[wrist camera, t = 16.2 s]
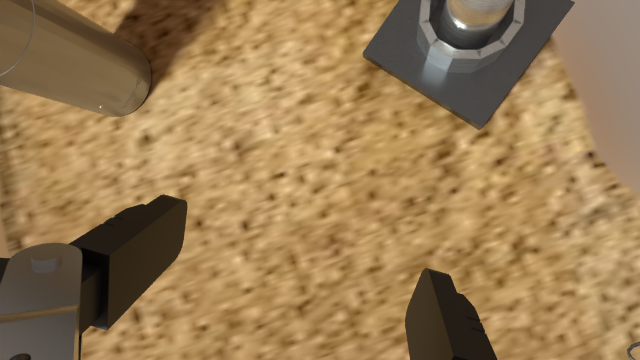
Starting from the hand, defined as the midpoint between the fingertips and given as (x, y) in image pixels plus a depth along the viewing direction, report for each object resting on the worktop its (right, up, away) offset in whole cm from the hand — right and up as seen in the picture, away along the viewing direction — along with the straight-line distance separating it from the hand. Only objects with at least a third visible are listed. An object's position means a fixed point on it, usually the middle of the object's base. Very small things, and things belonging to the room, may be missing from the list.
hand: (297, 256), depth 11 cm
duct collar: (+15, +17, +24) cm, 33 cm away
